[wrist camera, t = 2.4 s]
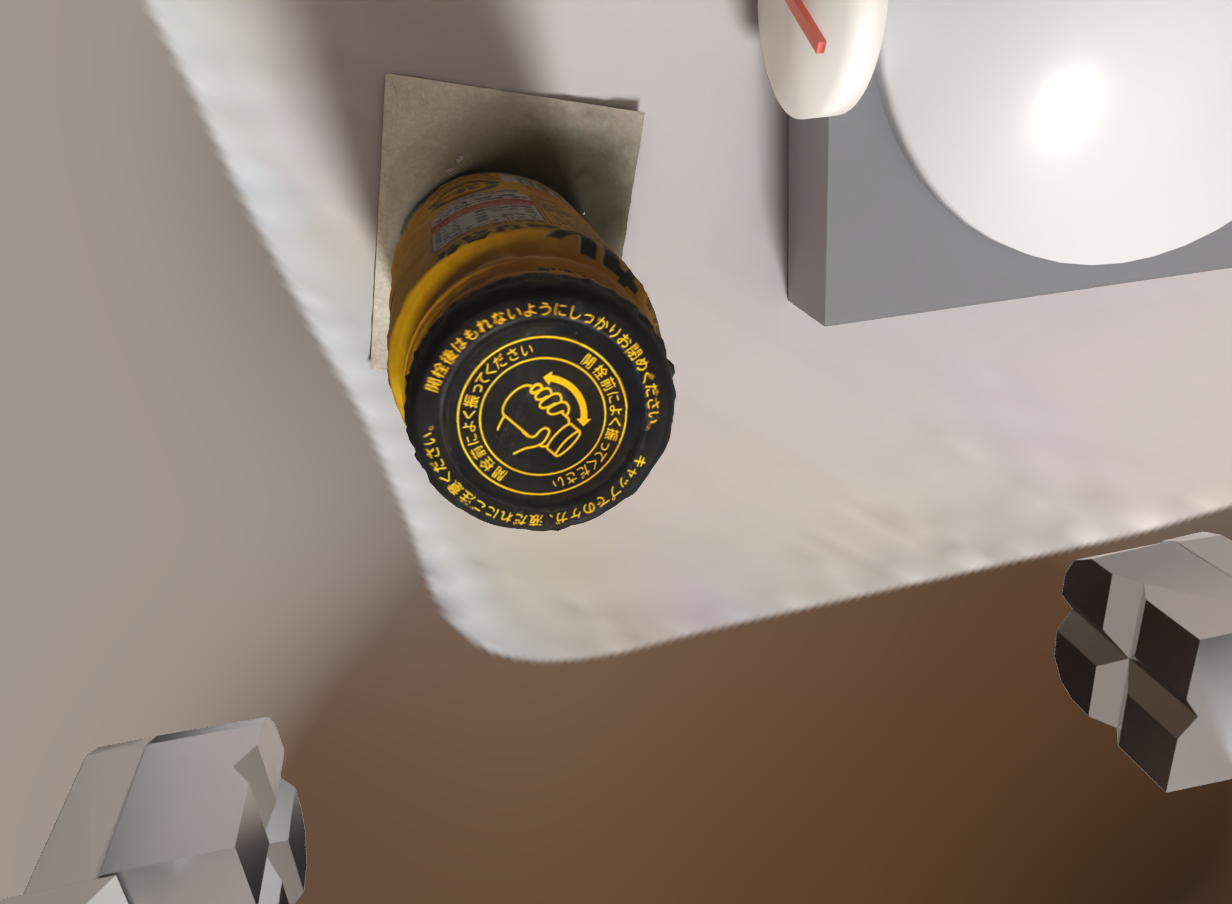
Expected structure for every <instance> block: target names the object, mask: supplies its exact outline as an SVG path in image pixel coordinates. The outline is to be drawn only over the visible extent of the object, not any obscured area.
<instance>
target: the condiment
mask: <svg viewBox="0 0 1232 904" xmlns="http://www.w3.org/2000/svg"><path fill="white" fill-rule="evenodd" d="M643 120H644V112H638V111H631V110H626V109H616V108H612V107H606V106H599V105H593V104H586V103H580V102H573V101H565V100H560V99H556V98H548V97H540V96H534V95H528V94H521V93H514V92H508V91H502V90H500V91H498V90H495V89H489V88H482V87H475V86H467V85H461V84H455V83H449V82H442V81H436V80H428V79H422V78H415V77H409V76H402V75H395V74H389V73H386V74H385V92H384V111H383V131H382V150H381V172H380V189H379V209H378V229H377V249H376V268H375V288H374V307H373V327H372V346H371V365H370V368H372V369H387V372H388V380H389V385H390V387H391V389H392V392H393V396H394V399H395V402H396V405H397V407H398V409H399V411H400V413H401V416H402V419H403V421H404V423H405V425H406V426H407V428H406V431H407V434H408V437H409V440H410V442H411V444H412V445H413V446H414V448H415V451H416V453H415V457H416V459H417V460H418V461H419V462H420V464H421V466H422V468H424V469H425V470H426V472H427V475H428V478H429V481H430V483H431V484H432V485H433V486H434V487H435V488H436V489H437V491H438V492H439V493H440V494H441V495H442V496H443V497H445V498H446V499H447V500H448V501H450V502H451V503H452V504H453V505H455V506H456V507H458V508H460V509H462V510H464V511H465V512H467V513H469V514H470V515H472V516H474V517H476V518H478V519H480V520H482V521H484V522H487V523H490V524H493V525H497V526H501V527H507V528H516V529H527V530H532V531H548V530H554V531H559V530H561V529H564V528H567V527H569V526H571V525H576V524H580V523H584V522H587V521H589V520H592V519H594V518H596V517H598V516H600V515H601V514H603V513H604V512H606V511H607V510H609V509H611V508H613V507H614V506H616V505H617V504H618V503H619V502H621V501H622V500H624V499H625V498H627V497H629V496H631V495H633V494H634V493H635V492H636V491H637V490H638V488H639V487H640V485H641V484H642V483H643V481H644V480H645V478H646V477H647V476H648V474H649V473H650V471H651V469H652V468H653V466H654V465H655V464H656V462H657V461H658V459H659V458H660V456H661V455H662V454H663V452H664V450H665V448H666V446H667V444H668V441H669V438H670V433H671V424H672V422H673V415H674V400H675V398H676V392H675V388H674V384H673V380H672V377H673V375H674V373H675V370H674V365H673V364H672V363H671V362H670V361H669V360H668V359H667V358H666V349H665V345H664V341H663V339H662V338H661V334H660V330H659V325H658V321H657V318H656V315H655V312H654V309H653V307H652V304H651V302H650V300H649V297H648V295H647V293H646V292H645V290H644V288H643V285H642V284H641V283H640V282H639V280H638V279H637V278H636V277H635V276H634V275H633V273H632V272H631V270H630V269H629V268H628V267H627V265H626V264H625V262H623V261H622V260H621V258H622V250H623V245H624V241H625V236H626V230H627V220H628V213H629V207H630V203H631V194H632V187H633V182H634V174H635V169H636V164H637V158H638V152H639V148H640V140H641V133H642V126H643ZM461 155H465V158H464V159H463V160H462V161H461V162H460V163H458V164H457V163H456V161H455V160H456V159H457V157H458V156H461ZM449 167H452V168H454V172H452V173H450V174H447V173H446V172H447V169H448V168H449ZM584 212H585V215H583V213H584Z"/></svg>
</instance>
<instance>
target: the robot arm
mask: <svg viewBox="0 0 1232 904" xmlns="http://www.w3.org/2000/svg"><path fill="white" fill-rule="evenodd" d="M1062 595H1063V597H1064V598H1065V599H1066V601H1067V602H1068V604H1069V605H1070V606H1071V608H1072V611H1071V612H1070V613H1069V615H1068V616H1067V617H1066V619H1065V620H1064V621H1063V622H1062V624H1061V625H1060V626H1059V628H1058V629H1057V634H1056V644H1055V655H1054V657H1055V660H1056V664H1057V667H1058V671H1059V675H1060V678H1061V682H1062V683H1063V685H1064V687H1065V688H1066V690H1067V692H1068V693H1069V695H1070V697H1071V698H1072V700H1073V701H1074V702H1075V703H1076V704H1077V705H1078V706H1079V707H1080V708H1081V709H1082V710H1083V711H1084V712H1085V713H1086V714H1087V715H1088V716H1090V717H1092V718H1094V719H1097V720H1099V721H1102V722H1104V723H1106V724H1109V725H1111V726H1114V727H1116V728H1117V734H1118V746H1119V747H1120V748H1121V749H1122V750H1123V751H1124V752H1125V753H1126V754H1127V755H1128V756H1129V757H1130V758H1131V759H1132V760H1133V761H1134V762H1135V763H1137V765H1138V766H1139V767H1140V768H1142V769H1143V770H1144V771H1145V772H1146V773H1147V774H1148V775H1149V776H1150V777H1151V778H1152V779H1153V780H1154V781H1155V782H1156V783H1157V784H1158V785H1159V786H1160V787H1161V788H1162V789H1163V790H1164V791H1165V792H1171V791H1176V790H1180V789H1185V788H1190V787H1195V786H1200V785H1204V784H1209V783H1214V782H1219V781H1223V780H1228V779H1232V541H1230V540H1229V539H1227V538H1226V537H1224V536H1222V535H1219V534H1213V533H1208V532H1200V533H1195V534H1191V535H1187V536H1182V537H1177V538H1173V539H1169V540H1164V541H1161V542H1159V543H1158V544H1153V545H1148V546H1143V547H1138V548H1133V549H1128V550H1123V551H1118V552H1113V553H1108V554H1103V555H1098V556H1093V557H1089V558H1083V559H1079V560H1074V561H1073V562H1072V564H1071V566H1070V567H1069V569H1068V570H1067V572H1066V574H1065V579H1064V585H1063V591H1062ZM283 756H284V749H283V746H282V743H281V740H280V737H279V734H278V731H277V728H276V725H275V723H274V722H273V721H272V720H271V719H269V718H268V717H263V718H257V719H252V720H246V721H240V722H234V723H229V724H223V725H217V726H211V727H206V728H200V729H194V730H189V731H182V732H177V733H171V734H165V735H160V736H156V737H155V738H144V739H139V740H134V741H129V742H124V743H118V744H112V745H107V746H102V747H98V748H96V749H95V750H94V751H92V752H91V753H89V754H88V755H87V756H86V757H85V759H84V761H83V763H82V765H81V767H80V769H79V771H78V773H77V776H76V778H75V780H74V783H73V784H72V787H71V789H70V792H69V793H68V796H67V798H66V800H65V802H64V805H63V807H62V809H61V811H60V813H59V816H58V818H57V820H56V822H55V824H54V827H53V829H52V831H51V833H50V835H49V838H48V840H47V842H46V844H45V847H44V849H43V851H42V853H41V855H40V858H39V860H38V862H37V864H36V866H35V869H34V871H33V873H32V875H31V878H30V880H29V882H28V885H27V886H26V889H25V891H24V893H23V895H19V896H15V897H11V898H6V899H3V900H2V901H1V902H0V904H294V903H295V902H296V901H297V900H298V898H299V897H300V896H301V895H302V893H303V892H304V885H305V875H306V865H307V864H306V837H305V827H304V822H303V816H302V810H301V806H300V802H299V799H298V795H297V792H296V788H295V787H294V786H292V785H290V784H289V783H288V782H286V781H285V780H283V779H282V778H280V774H281V768H282V762H283Z"/></svg>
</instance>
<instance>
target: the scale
mask: <svg viewBox="0 0 1232 904" xmlns="http://www.w3.org/2000/svg"><path fill="white" fill-rule="evenodd" d="M758 21H759V32H760V41H761V47H762V53H763V58H764V63H765V68H766V71H767V75H768V78H769V82H770V84H771V87H772V90H773V92H774V94H775V96H776V99H777V100H778V102H779V104H780V105H781V107H782V108H783V109H784V111H785V112H786V113H787V114H788V301H790V302H791V303H793V304H794V305H795V306H797V307H798V308H800V309H801V310H802V311H804V312H805V313H807V314H808V315H809V316H811V317H812V318H814V319H815V320H817V321H818V322H819V323H821V324H822V325H824V326H832V325H839V324H846V323H853V322H860V321H867V320H874V319H880V318H887V317H894V316H901V315H908V314H915V313H922V312H929V311H936V310H942V309H949V308H956V307H963V306H970V305H977V304H984V303H991V302H998V301H1005V300H1011V299H1018V298H1025V297H1032V296H1039V295H1046V294H1053V293H1060V292H1067V291H1073V290H1080V289H1087V288H1094V287H1101V286H1108V285H1115V284H1122V283H1129V282H1136V281H1142V280H1149V279H1156V278H1163V277H1170V276H1177V275H1184V274H1191V273H1198V272H1204V271H1211V270H1218V269H1225V268H1232V0H758Z"/></svg>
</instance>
